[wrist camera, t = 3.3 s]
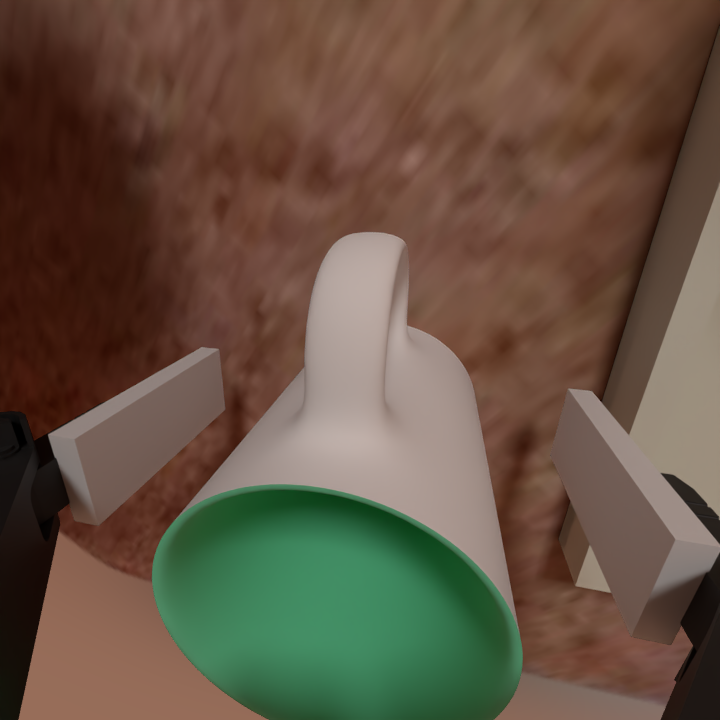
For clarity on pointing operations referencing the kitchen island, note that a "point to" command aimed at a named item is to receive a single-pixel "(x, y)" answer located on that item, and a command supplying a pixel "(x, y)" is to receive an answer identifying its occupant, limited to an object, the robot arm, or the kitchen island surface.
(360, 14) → the kitchen island surface
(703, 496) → the tray
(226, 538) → the mug
